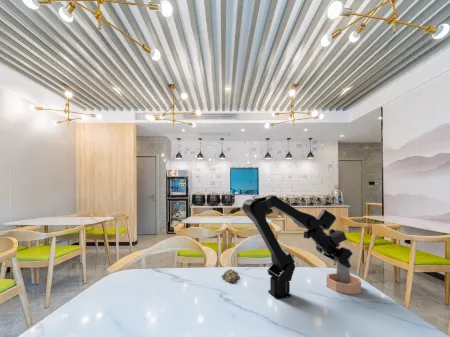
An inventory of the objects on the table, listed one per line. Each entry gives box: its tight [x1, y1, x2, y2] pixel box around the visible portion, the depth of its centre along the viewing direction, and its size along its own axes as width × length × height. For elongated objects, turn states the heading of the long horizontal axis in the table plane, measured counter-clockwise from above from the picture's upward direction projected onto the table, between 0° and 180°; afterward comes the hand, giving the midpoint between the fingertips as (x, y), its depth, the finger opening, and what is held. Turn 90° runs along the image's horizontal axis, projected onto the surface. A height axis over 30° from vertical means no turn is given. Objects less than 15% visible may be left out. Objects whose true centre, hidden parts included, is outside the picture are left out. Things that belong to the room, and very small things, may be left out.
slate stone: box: [336, 257, 351, 284], centre depth 103 cm, size 5×5×12 cm
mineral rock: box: [221, 269, 241, 284], centre depth 111 cm, size 11×4×8 cm
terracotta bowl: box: [326, 272, 362, 295], centre depth 103 cm, size 13×13×4 cm
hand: (346, 265), depth 104 cm, fingers closed on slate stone, 5 cm apart
